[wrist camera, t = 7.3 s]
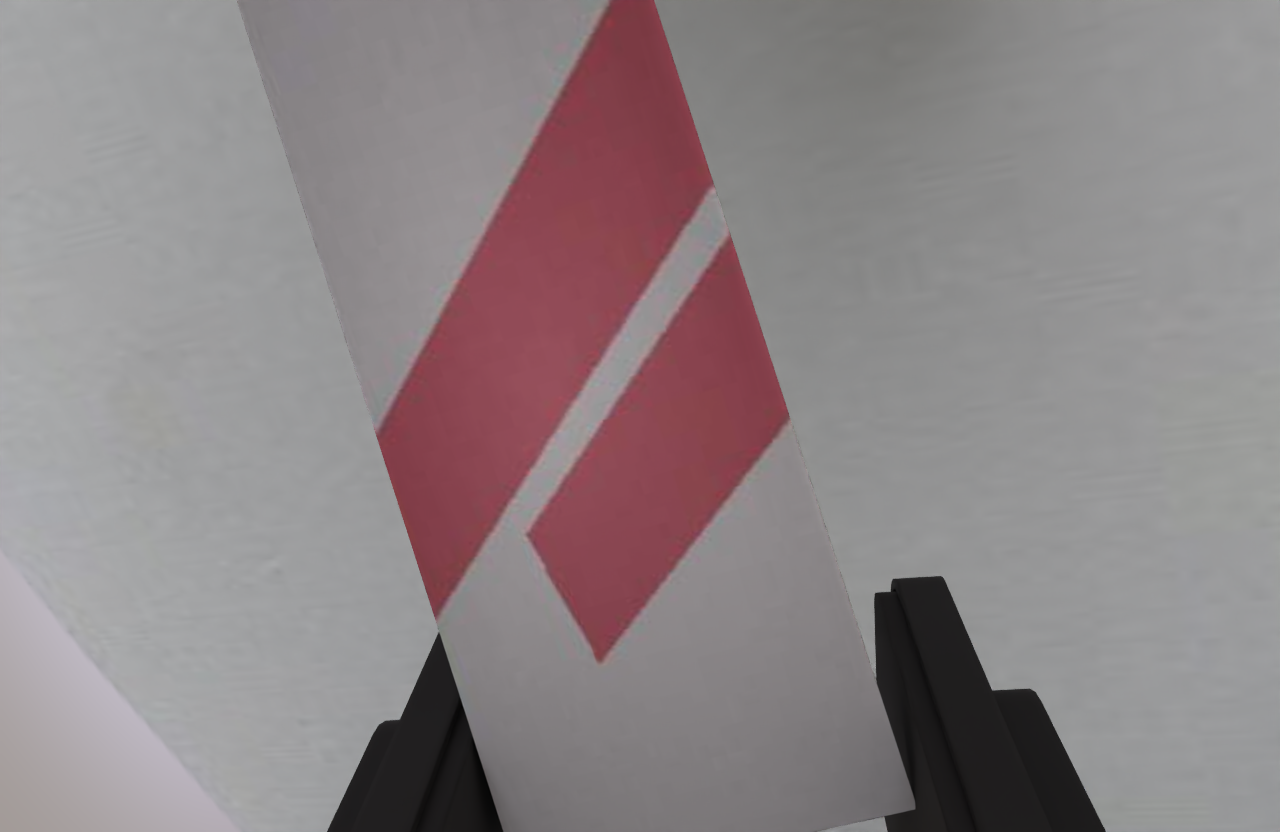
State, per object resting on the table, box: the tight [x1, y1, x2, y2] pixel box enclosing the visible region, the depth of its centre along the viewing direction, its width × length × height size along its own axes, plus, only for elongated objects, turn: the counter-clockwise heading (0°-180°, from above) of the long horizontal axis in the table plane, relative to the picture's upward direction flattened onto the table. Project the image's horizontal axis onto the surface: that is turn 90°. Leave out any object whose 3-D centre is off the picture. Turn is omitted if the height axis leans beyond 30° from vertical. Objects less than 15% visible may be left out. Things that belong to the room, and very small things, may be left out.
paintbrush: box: [237, 0, 915, 832], centre depth 10 cm, size 4×3×20 cm
